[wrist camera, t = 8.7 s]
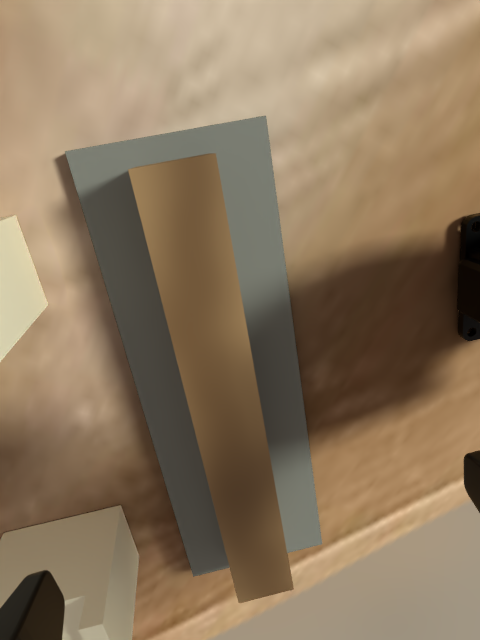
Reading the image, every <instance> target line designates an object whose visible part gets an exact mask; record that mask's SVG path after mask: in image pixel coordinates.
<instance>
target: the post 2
mask: <svg viewBox="0 0 480 640" xmlns="http://www.w3.org/2000/svg"><path fill="white" fill-rule="evenodd" d="M138 564H139V554H138V551H137V548H136V546H135V543H134V540H133V537H132V535H131V532H130V529H129V526H128V523H127V521H126V518H125V515H124V512H123V510H122V507H121V505H119V506H115V507H111V508H106V509H102V510H98V511H94V512H90V513H85V514H81V515H77V516H73V517H68V518H64V519H60V520H56V521H52V522H47V523H43V524H39V525H35V526H31V527H26V528H22V529H18V530H14V531H10V532H5V533H3V535H2V538H1V540H0V608H1V607H2V605H3V604H4V603H5V602H6V600H7V599H8V598H9V597H10V595H11V594H12V593H13V591H14V590H15V589H16V588H17V586H18V585H19V584H20V583H21V581H22V580H23V579H24V578H25V577H26V576H27V575H29V574H32V573H36V572H39V571H43V570H48V571H50V572H51V574H52V575H53V577H54V579H55V581H56V583H57V585H58V586H59V588H60V590H61V592H62V594H63V596H64V601H65V612H64V624H63V635H62V640H132V632H133V621H134V610H135V598H136V587H137V575H138Z"/></svg>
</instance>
